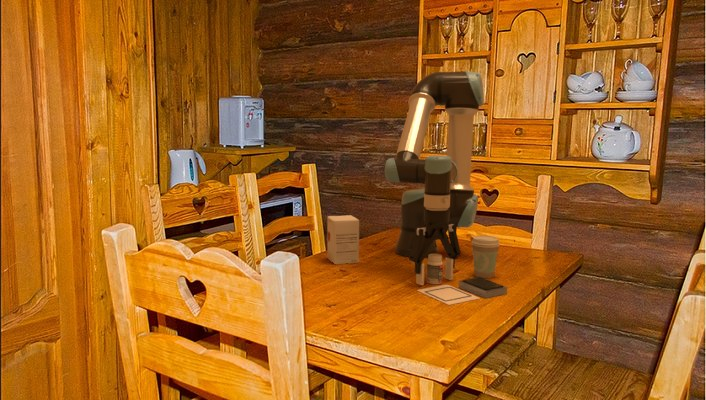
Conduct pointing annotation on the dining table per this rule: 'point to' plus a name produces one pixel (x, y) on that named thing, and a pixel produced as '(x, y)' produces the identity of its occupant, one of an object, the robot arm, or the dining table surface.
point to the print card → (448, 294)
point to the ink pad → (483, 287)
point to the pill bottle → (434, 269)
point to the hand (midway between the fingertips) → (434, 281)
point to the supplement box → (343, 239)
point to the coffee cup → (485, 255)
